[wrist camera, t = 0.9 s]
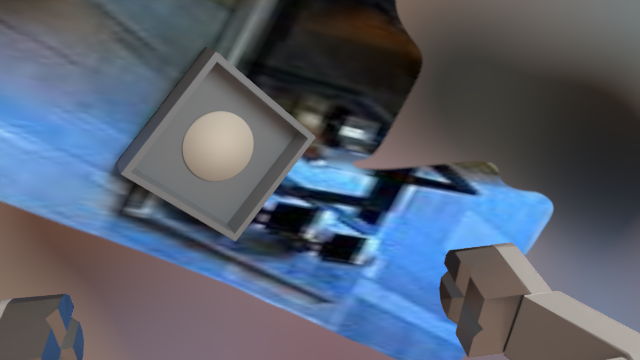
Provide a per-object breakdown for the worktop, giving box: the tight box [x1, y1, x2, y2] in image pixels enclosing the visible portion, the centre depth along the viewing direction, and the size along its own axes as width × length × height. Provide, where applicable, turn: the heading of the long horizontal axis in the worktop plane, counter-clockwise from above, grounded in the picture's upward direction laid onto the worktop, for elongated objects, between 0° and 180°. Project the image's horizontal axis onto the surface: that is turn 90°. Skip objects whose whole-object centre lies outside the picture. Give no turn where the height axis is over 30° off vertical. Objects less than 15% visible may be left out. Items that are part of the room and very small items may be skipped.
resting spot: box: [182, 111, 254, 181], centre depth 48 cm, size 7×7×1 cm
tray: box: [116, 47, 315, 241], centre depth 47 cm, size 13×13×3 cm
